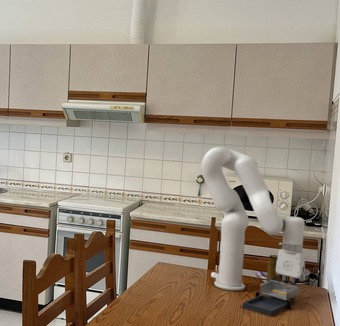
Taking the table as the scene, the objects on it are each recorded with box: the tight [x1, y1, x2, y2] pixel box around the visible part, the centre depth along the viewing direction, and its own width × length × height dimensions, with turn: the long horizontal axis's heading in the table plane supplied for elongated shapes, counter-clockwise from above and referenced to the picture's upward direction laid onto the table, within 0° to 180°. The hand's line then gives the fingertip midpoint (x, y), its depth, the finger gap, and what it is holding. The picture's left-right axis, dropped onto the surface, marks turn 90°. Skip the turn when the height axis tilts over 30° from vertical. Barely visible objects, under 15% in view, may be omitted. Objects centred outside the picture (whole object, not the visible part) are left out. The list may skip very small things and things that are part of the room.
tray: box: [242, 294, 288, 317], centre depth 185 cm, size 11×15×2 cm
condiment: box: [261, 254, 282, 283], centre depth 218 cm, size 7×8×12 cm
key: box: [273, 289, 287, 295], centre depth 193 cm, size 6×2×1 cm, turn 46°
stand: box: [254, 290, 294, 310], centre depth 192 cm, size 13×10×3 cm
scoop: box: [259, 280, 300, 301], centre depth 195 cm, size 11×17×4 cm
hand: (288, 292), depth 200 cm, fingers closed on scoop
